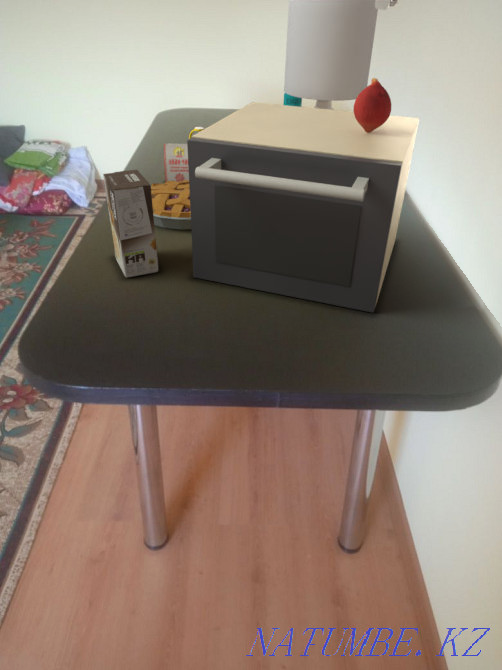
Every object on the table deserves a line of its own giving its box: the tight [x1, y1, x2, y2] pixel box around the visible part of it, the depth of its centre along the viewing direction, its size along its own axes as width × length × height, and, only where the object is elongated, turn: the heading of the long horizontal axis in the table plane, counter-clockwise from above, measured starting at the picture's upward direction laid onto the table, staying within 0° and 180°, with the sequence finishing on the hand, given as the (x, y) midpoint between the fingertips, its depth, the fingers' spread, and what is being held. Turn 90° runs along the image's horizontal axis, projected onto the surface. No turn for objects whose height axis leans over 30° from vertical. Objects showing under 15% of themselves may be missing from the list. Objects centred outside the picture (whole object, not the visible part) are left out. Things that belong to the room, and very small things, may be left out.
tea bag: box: [163, 143, 189, 183], centre depth 129 cm, size 4×7×10 cm, turn 92°
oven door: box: [186, 138, 403, 314], centre depth 79 cm, size 7×32×24 cm, turn 70°
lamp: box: [283, 0, 379, 110], centre depth 136 cm, size 22×22×40 cm
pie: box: [151, 180, 191, 231], centre depth 115 cm, size 22×22×5 cm
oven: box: [192, 101, 420, 308], centre depth 93 cm, size 28×32×24 cm
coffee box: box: [102, 169, 159, 278], centre depth 91 cm, size 9×6×16 cm
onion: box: [352, 77, 392, 133], centre depth 81 cm, size 6×6×8 cm
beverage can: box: [282, 92, 303, 107], centre depth 166 cm, size 6×6×15 cm
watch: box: [188, 126, 205, 139], centre depth 158 cm, size 6×3×6 cm, turn 74°
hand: (386, 7), depth 74 cm, fingers open, 8 cm apart
